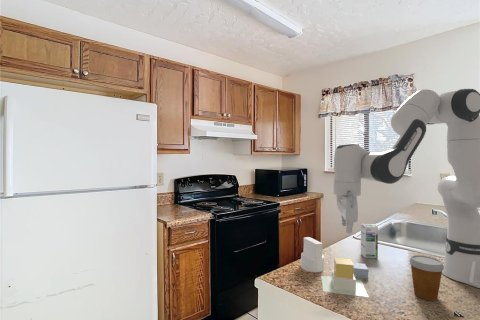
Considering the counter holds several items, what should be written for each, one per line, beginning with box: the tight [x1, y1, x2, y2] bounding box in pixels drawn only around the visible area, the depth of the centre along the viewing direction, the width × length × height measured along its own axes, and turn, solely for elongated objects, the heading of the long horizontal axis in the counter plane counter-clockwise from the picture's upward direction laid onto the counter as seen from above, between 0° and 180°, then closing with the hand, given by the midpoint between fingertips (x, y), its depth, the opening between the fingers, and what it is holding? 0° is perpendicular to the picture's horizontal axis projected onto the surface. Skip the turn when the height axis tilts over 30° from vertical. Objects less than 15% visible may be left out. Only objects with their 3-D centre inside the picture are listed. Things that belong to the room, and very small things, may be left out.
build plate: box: [320, 275, 370, 298], centre depth 92 cm, size 14×12×1 cm
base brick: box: [331, 268, 357, 292], centre depth 92 cm, size 7×7×4 cm
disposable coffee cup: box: [408, 254, 444, 302], centre depth 88 cm, size 10×10×12 cm
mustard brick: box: [333, 257, 354, 279], centre depth 92 cm, size 6×6×4 cm
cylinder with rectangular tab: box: [300, 236, 325, 273], centre depth 107 cm, size 9×9×12 cm
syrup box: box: [360, 223, 379, 259], centre depth 124 cm, size 6×6×14 cm
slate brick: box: [352, 262, 369, 279], centre depth 101 cm, size 6×6×4 cm
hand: (346, 229), depth 93 cm, fingers open, 8 cm apart
